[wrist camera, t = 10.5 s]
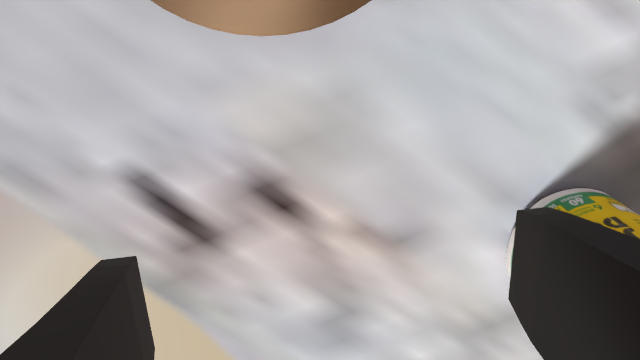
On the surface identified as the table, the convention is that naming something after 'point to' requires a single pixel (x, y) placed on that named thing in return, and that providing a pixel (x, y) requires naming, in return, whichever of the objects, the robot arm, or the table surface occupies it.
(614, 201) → the supplement bottle
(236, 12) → the walnut bowl
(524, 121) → the table surface
